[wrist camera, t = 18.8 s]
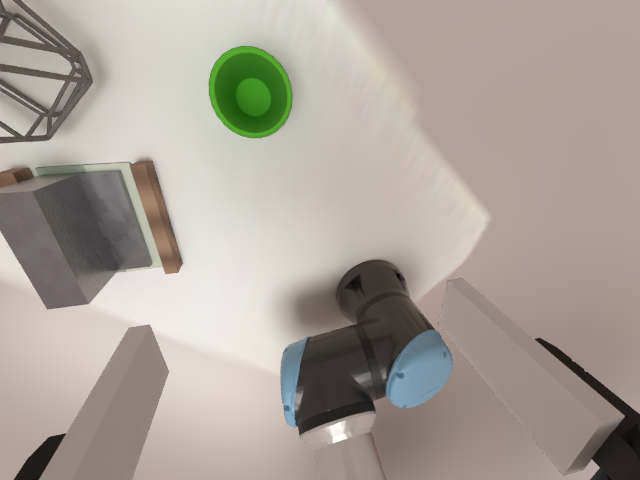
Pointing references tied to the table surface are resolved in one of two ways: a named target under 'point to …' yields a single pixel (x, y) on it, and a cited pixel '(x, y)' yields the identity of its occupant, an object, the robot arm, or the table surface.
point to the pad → (132, 192)
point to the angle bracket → (72, 233)
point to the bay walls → (151, 204)
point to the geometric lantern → (43, 74)
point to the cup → (250, 92)
